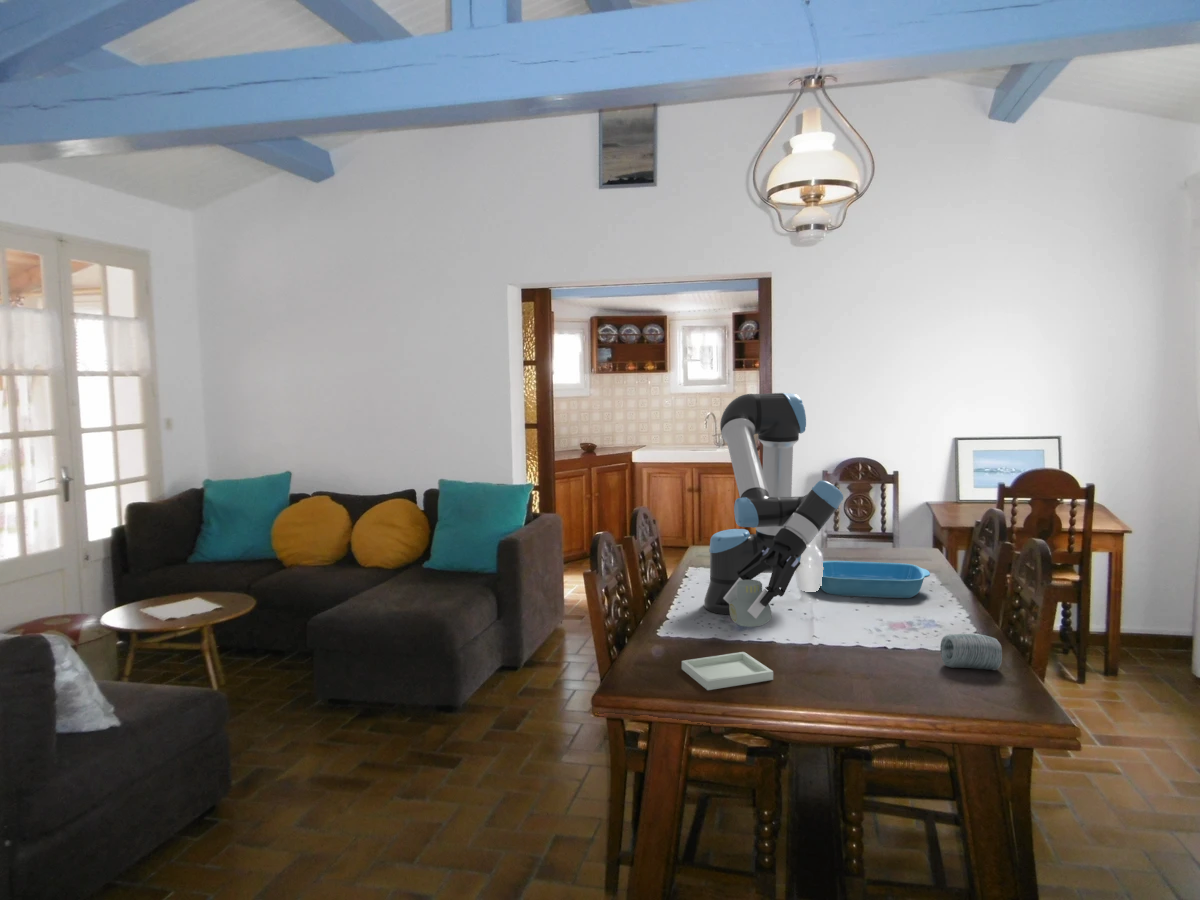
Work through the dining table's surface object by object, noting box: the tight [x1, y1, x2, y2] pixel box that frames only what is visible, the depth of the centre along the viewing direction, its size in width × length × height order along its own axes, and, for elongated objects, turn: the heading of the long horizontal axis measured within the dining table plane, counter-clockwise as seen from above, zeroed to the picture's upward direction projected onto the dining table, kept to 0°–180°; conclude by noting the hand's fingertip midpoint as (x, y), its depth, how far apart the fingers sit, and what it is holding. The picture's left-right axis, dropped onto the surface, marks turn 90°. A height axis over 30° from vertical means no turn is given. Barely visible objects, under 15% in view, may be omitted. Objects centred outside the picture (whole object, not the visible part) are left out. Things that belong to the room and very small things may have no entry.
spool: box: [940, 633, 1003, 671], centre depth 197 cm, size 14×10×10 cm
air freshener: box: [729, 579, 772, 628], centre depth 196 cm, size 11×8×10 cm
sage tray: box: [681, 651, 774, 691], centre depth 196 cm, size 14×17×2 cm
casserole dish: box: [820, 560, 931, 599], centre depth 265 cm, size 37×22×7 cm, turn 75°
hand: (739, 608), depth 195 cm, fingers closed on air freshener, 10 cm apart
